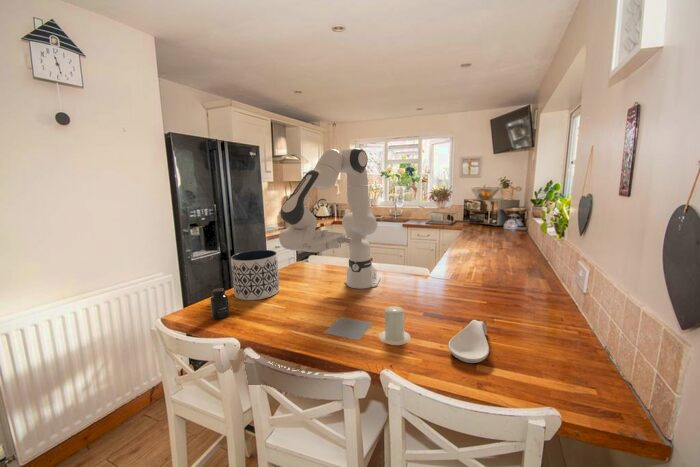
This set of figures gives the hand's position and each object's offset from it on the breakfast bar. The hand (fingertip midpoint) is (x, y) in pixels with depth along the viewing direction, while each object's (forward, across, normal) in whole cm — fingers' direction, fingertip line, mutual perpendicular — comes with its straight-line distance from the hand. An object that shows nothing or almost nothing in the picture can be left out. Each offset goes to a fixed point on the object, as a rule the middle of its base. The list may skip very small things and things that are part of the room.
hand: (345, 243), depth 117 cm
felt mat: (+3, -6, +32) cm, 33 cm away
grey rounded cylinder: (+21, -6, +31) cm, 38 cm away
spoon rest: (+46, -3, +32) cm, 57 cm away
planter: (-58, +12, +32) cm, 67 cm away
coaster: (+21, -6, +32) cm, 39 cm away
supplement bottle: (-53, -16, +32) cm, 64 cm away
